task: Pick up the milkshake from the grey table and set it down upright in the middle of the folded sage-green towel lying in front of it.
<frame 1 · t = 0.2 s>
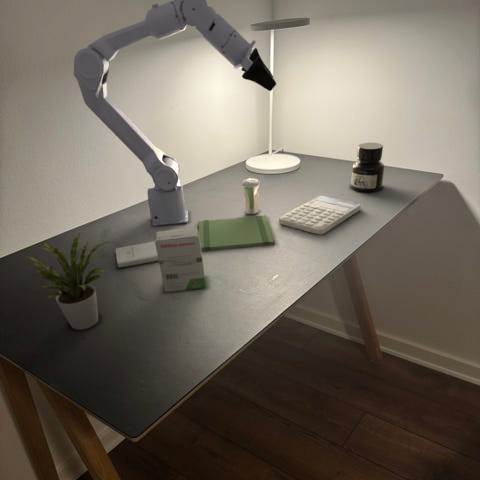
hand: (272, 83, 105), 31 cm above the table, tool tilted 45°, fingers open, 7 cm apart
milkshake: (253, 213, 123), on the table
calculator: (320, 217, 118), on the table
hard drive: (144, 256, 105), on the table
ink box: (185, 285, 93), on the table
ink bottle: (366, 188, 133), on the table
house plant: (90, 318, 86), on the table
towel: (234, 233, 112), on the table
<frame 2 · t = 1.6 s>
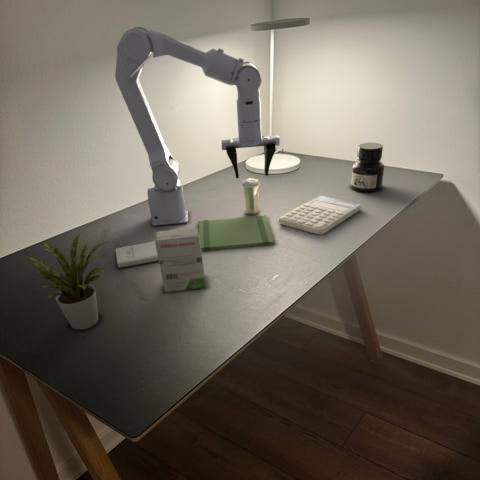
hand: (251, 175, 117), 10 cm above the table, tool pointing down, fingers open, 7 cm apart
nothing on the table moved.
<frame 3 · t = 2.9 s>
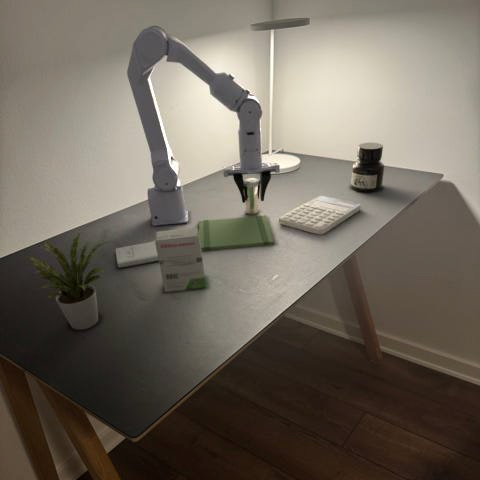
hand: (252, 200, 121), 3 cm above the table, tool pointing down, fingers closed on milkshake, 4 cm apart
milkshake: (253, 213, 123), on the table, touching gripper
everything else where it was.
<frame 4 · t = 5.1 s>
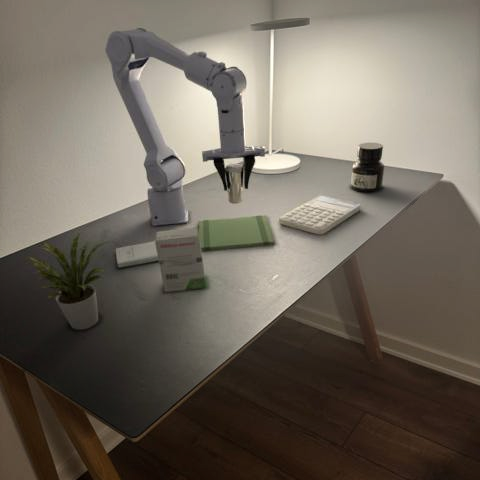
hand: (235, 188, 109), 10 cm above the table, tool pointing down, fingers closed on milkshake, 4 cm apart
milkshake: (236, 202, 111), point 7 cm above the table, touching gripper
everything else where it was.
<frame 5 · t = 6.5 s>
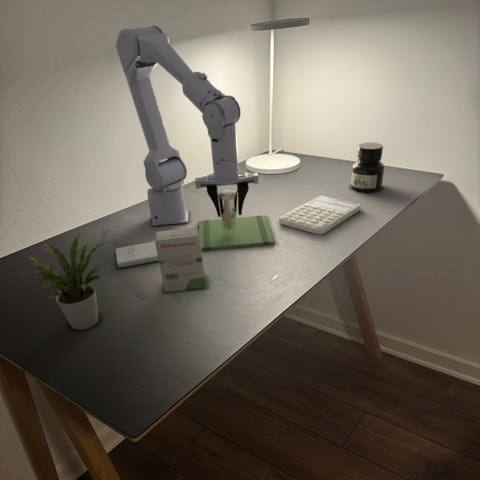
hand: (229, 214, 108), 6 cm above the table, tool pointing down, fingers closed on milkshake, 4 cm apart
milkshake: (230, 228, 110), point 2 cm above the table, touching gripper
everything else where it was.
when the fingers open (4 cm above the table, at t = 7.4 s): milkshake stays where it is, resting on towel.
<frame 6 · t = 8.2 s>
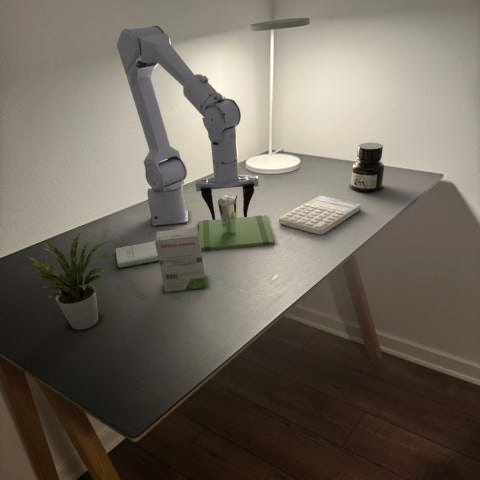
hand: (229, 217, 109), 5 cm above the table, tool pointing down, fingers open, 7 cm apart
milkshake: (231, 233, 111), point 1 cm above the table, touching towel
everything else where it was.
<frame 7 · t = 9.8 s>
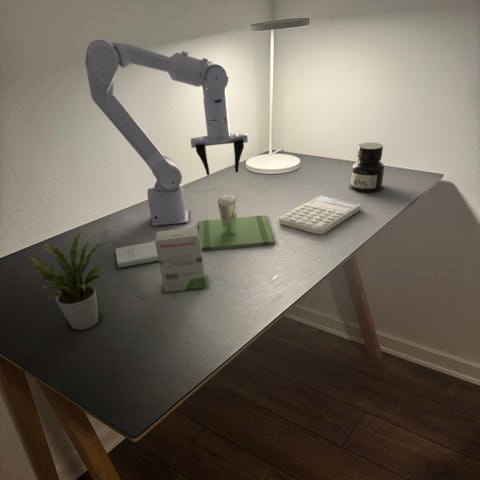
hand: (222, 172, 120), 10 cm above the table, tool pointing down, fingers open, 7 cm apart
nothing on the table moved.
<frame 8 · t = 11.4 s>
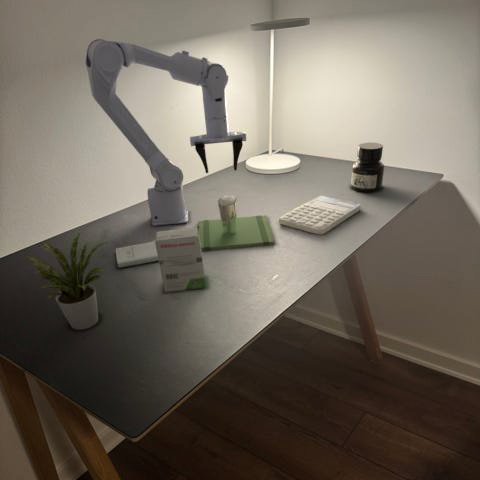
hand: (221, 170, 121), 10 cm above the table, tool pointing down, fingers open, 7 cm apart
nothing on the table moved.
at the end: milkshake inside the target area on the towel (1.4 cm from its centre), point 0.6 cm above the towel's base; milkshake tilted 0°; milkshake touching towel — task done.
